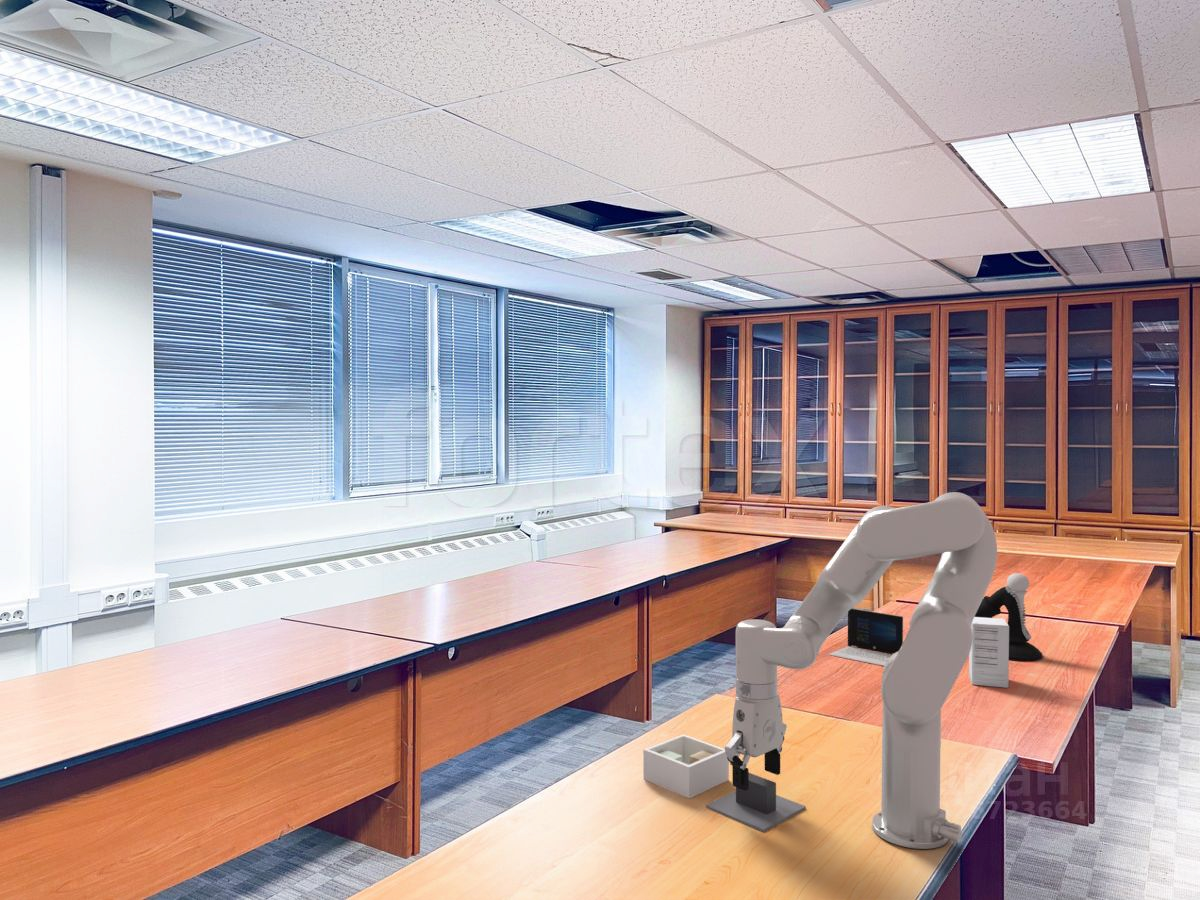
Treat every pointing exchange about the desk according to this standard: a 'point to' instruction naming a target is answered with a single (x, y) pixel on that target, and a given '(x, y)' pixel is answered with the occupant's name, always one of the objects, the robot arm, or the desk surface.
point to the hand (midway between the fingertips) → (756, 780)
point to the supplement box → (989, 652)
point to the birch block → (699, 756)
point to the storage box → (686, 766)
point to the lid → (756, 805)
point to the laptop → (872, 637)
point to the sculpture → (1012, 616)
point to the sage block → (673, 755)
